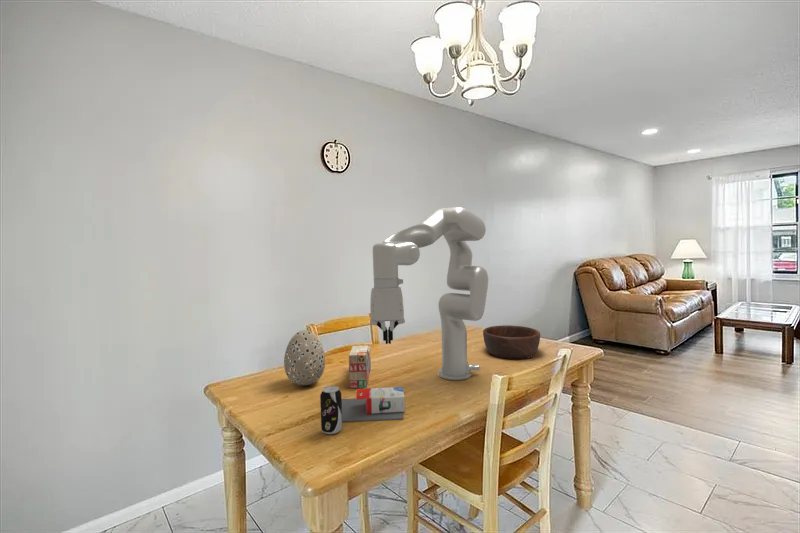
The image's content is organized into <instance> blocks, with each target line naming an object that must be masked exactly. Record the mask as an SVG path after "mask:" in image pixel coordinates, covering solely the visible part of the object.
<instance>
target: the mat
mask: <svg viewBox="0 0 800 533" xmlns="http://www.w3.org/2000/svg"><path fill="white" fill-rule="evenodd" d="M400 420H401V421H402V420H404V412H391V413H374V414H367V413H366V399H362V400H356V397H355V398H353V397H352V398H342V423H352V422H355V423H357V422H375V421H377V422H378V421H380V422H381V421H400Z"/></svg>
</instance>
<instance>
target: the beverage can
mask: <svg viewBox="0 0 800 533" xmlns="http://www.w3.org/2000/svg"><path fill="white" fill-rule="evenodd" d="M321 390H322V391H321V392H320V394H319V396H320V397H319V398H320V400H319V402H320V425H321V432H322V433H323V434H327V435H335V434H337V433H339V432H340V431H342V429H343V422H342V399H343V398H342V392H341V390H340V387H339V386H337V385H327V386H324V387H322V388H321Z"/></svg>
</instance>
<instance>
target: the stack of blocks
mask: <svg viewBox="0 0 800 533" xmlns="http://www.w3.org/2000/svg"><path fill="white" fill-rule="evenodd" d="M371 360H372V358H371V347H370V346H369V345H367V344H366V345H352V347H351V350H350V352H349V354H348V372H349V373H348V374H349V382H348V383H349V389H368V385H369V380H370V374H371V369H372V364H371Z"/></svg>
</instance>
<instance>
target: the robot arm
mask: <svg viewBox="0 0 800 533" xmlns="http://www.w3.org/2000/svg"><path fill="white" fill-rule="evenodd" d="M485 235H486V224H485V222H484V220H483V219H482V218H481V217H479V216H478V215H476V214H475V213H473V212H472V211H470V210H468V209H467V208H464V207H462V206H461V207H460V206H454V207H453V206H452V207H442V208H438V209H436V210H434V211H433V212H432V213H430V214H429V215H428V216H426V217H425V218H424V219H423V220H420V221H419V222H418V223H416V224H414V225H411V226H409V227H407V228H405V229H402V230H400V231H397V232H395V233H393V234H391V235H390V236H388V237H387V238H386V239H384V240H383V241H382V242H381V243H375V244H374V245H373V246H372V268H373V269H372V270H373V272H372V273H373V287H372V288H371V291H370V306H369V307H370V321H369V324H370V325H372V326H377V327H378V328H379V329H380V330H381V331H382V339H383V341H384V342H385V345H387V344H390V345H391V344H392V342H391V341H394V333H393V332H394V330H395V329H396V327H398V326H400V325H403V324H405V322H406V320H405V317H404V316H405V313H404V312H405V309H404V297H403V292H402V287H401V286H400V285H403V284H404V279H401V278H399V266H412V265H414V264H417V262H418V261H419V259H420V255H421V250H420V248H425V247H429V246H431V245H433V244H434V243H435V242H436V241H438V240H440V238H441V237H442V236H443V238H444V239H445V242H446V243H447V246H448V247H449V253H450V256H449V262H448V268H447V275H446V285H447V286H448V288H449V289H450V290H454V291H465V292H469V294H468V293H467V294H466V293H458V292H457V293H456V292H448V293H445V294H442V295H441V297H440V298H439V300H438V311H439V316H440V323H441V368H440V369H438V371H437V375H438V376H439V377H440V378H442V379H445V380H448V381H462V380H467V379H469V378H471V376H472V371H480V365H479V364H477V365H476V364H475V363H468V350H467V345H468V344H467V343H468V342H467V341H468V334H467V333H468V332H467V327H466V326H467V325H466V324H465V321H472V322H476V321H479V320H481V319H482V317H483V316H484V312H485V309H486V308H485V307H486V302H487V296H488V295H487V293H488V287H489V276H488V275H489V274H488V272H487V270H486V269H485V267H482V266H480V265H478V266H477V265H472V261H473V252H472V249H471V247H470V246H469V244H468V243H467V242H476V241H480V240H482V239H483V238H484V236H485ZM386 322H389V327H388V328H387V326H386Z"/></svg>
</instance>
